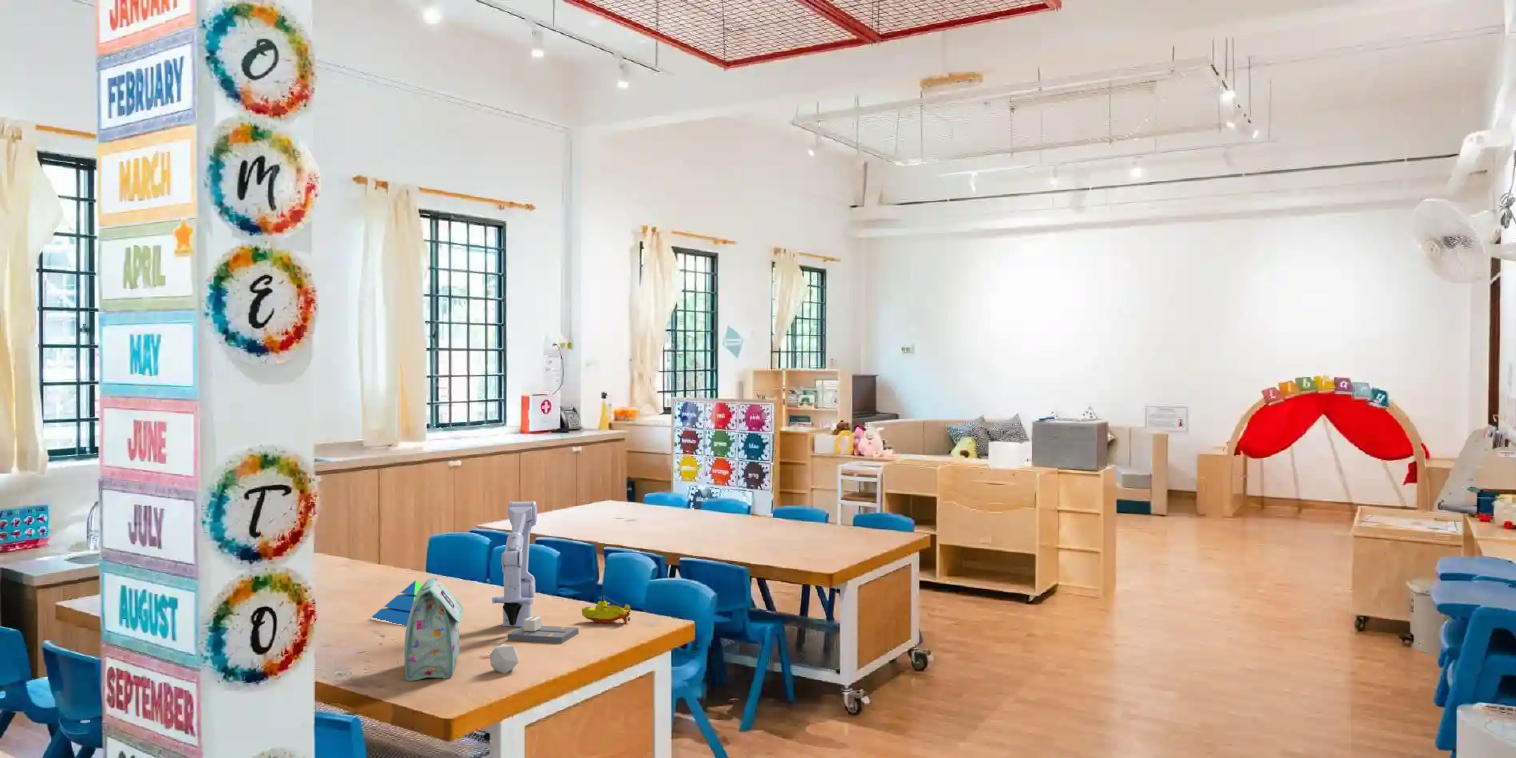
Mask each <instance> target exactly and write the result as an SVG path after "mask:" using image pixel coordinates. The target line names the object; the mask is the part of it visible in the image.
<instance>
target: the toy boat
mask: <svg viewBox="0 0 1516 758" xmlns="http://www.w3.org/2000/svg"><path fill="white" fill-rule="evenodd" d="M604 598H607V600H610V601H611V602H613V603H615V604H617V605H614V604H611V602H607V600H604ZM581 613H582V616H583V618H585V619H587V620H589V621H592V622H595V623H598V624H599V623H603V624H604V623H609V624H610V623H613V622H615V621H618V620H623V622H624V624H628V622H631V617H629V616H630V614H631V607H630V605H629V604H625V605H624V606H623V605H622V604H620V603H618V602H616V601H614V600H612V599H611V598H609V597H607V596H605V595H603V594H602V596H600V597H599V601H598V602H597V603H596V606H595V607H594V606H589V607H588V606H586V607H582V608H581Z"/></svg>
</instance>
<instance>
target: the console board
mask: <svg viewBox="0 0 1516 758" xmlns="http://www.w3.org/2000/svg"><path fill="white" fill-rule="evenodd" d="M579 630H580V629H579V627H575V626H574V627H572V626H571V627H570V626H555V625H541V628H540V629H538V630H536V631H524V626H523V627H518V628H517V629H515V630H513V631H511V632H509V633H507V634H506V635H507V636H506V637H507V641H516V642H517V641H518V642H519V641H520V642H535V643H538V642H539V643H546V644H547V643H551V644H563V643H565V642H567V641H568V640H570V639H571V638H573V637H576V636H577V635H578V634H579Z"/></svg>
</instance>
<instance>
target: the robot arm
mask: <svg viewBox="0 0 1516 758" xmlns="http://www.w3.org/2000/svg"><path fill="white" fill-rule="evenodd" d="M507 516H508V519H509V522H510V525H511V533H509V535H508V536H507V539H506V545H505V548H504V549H505V550H504V551H502V553H501V560H500V561H501V566H502V567H501V568H502V571H501V572H502V573H503V596H493V597H492V598H491V602H492V604H503V605H502V625H501V626H503V627H517V628H521V627H523V626H524V620H525V619H527V618H529V617H532V605H533V604H534V597H535V595H536V579H535V576H534V575H533V574H531V573H530V572H529V571H528V570H529V558H530V557H529V556H530V555H529V554H530V542H531V541H530V540H531V539H530V538H531V536H530V535H531V530H532V528H533V527H534V526H536V524H537V521H538V520H537V519H538V504H537V502H536V501H535V500H533V501H509V502H508V505H507Z"/></svg>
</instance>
